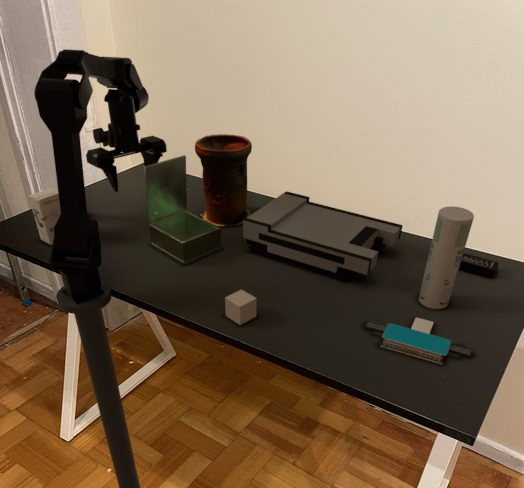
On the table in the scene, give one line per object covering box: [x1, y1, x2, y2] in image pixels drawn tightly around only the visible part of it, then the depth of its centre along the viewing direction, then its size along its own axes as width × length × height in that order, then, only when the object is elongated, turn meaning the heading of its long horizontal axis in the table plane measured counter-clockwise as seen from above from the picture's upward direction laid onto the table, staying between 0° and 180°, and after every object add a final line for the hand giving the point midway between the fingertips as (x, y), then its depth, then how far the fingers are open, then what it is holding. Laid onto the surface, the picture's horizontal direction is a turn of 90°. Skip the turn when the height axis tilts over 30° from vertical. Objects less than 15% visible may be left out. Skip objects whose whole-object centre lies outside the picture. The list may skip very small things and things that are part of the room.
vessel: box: [194, 133, 253, 227], centre depth 137 cm, size 14×14×20 cm
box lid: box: [143, 154, 188, 224], centre depth 125 cm, size 14×11×5 cm
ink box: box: [28, 185, 61, 246], centre depth 128 cm, size 9×5×12 cm, turn 139°
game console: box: [242, 190, 403, 282], centre depth 125 cm, size 21×32×8 cm, turn 59°
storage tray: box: [148, 210, 222, 266], centre depth 127 cm, size 13×11×6 cm
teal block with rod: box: [365, 317, 472, 366], centre depth 101 cm, size 20×12×2 cm, turn 64°
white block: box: [224, 289, 258, 326], centre depth 105 cm, size 4×4×4 cm
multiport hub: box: [458, 252, 500, 280], centre depth 123 cm, size 4×14×2 cm, turn 57°
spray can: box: [418, 206, 475, 310], centre depth 105 cm, size 6×6×20 cm
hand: (132, 186), depth 128 cm, fingers open, 9 cm apart
